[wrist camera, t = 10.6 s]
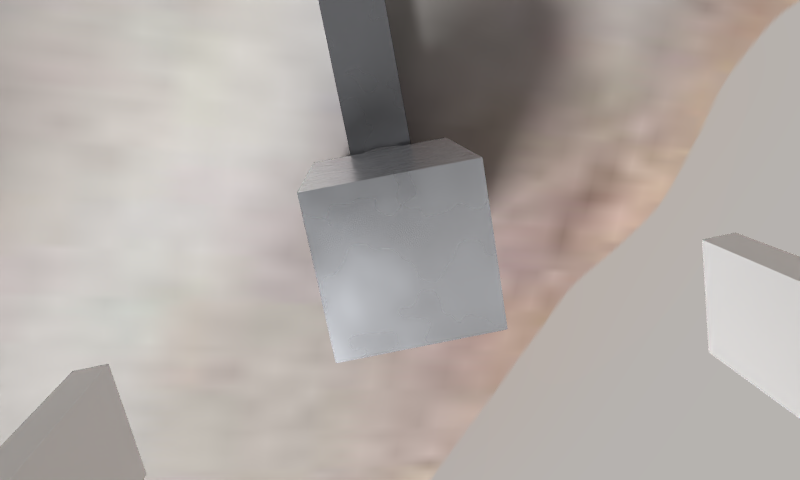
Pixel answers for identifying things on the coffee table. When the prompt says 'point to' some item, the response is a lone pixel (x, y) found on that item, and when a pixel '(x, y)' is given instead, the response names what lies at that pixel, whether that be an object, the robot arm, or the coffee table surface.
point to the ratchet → (365, 74)
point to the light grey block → (403, 248)
